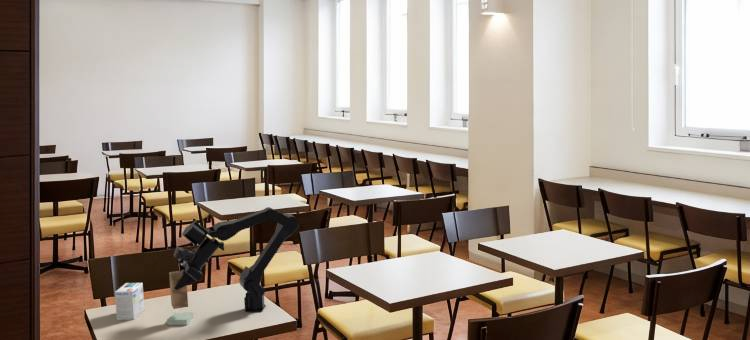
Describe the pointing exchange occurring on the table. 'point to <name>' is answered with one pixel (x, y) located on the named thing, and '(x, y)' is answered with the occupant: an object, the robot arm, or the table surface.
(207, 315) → the table surface
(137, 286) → the light bulb box
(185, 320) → the plinth
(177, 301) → the pillar
